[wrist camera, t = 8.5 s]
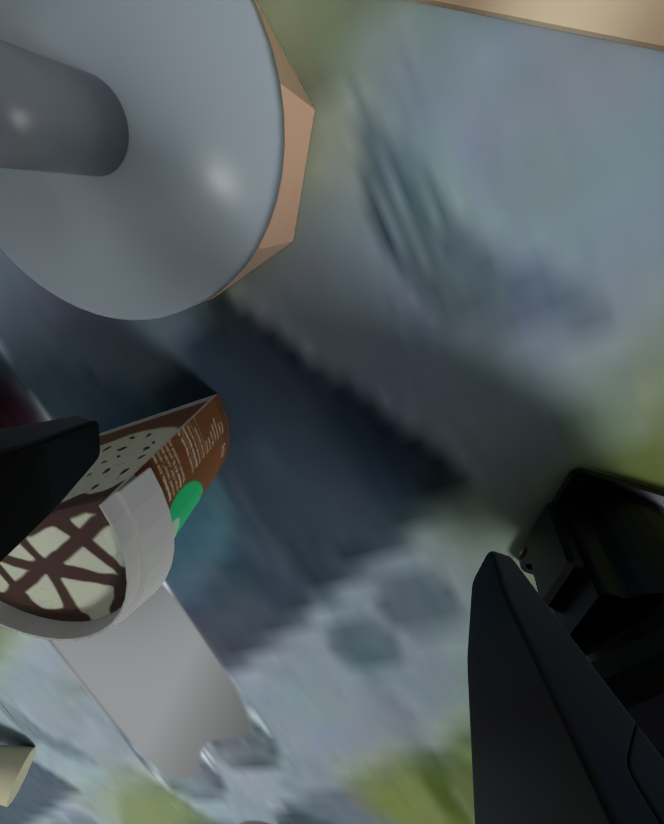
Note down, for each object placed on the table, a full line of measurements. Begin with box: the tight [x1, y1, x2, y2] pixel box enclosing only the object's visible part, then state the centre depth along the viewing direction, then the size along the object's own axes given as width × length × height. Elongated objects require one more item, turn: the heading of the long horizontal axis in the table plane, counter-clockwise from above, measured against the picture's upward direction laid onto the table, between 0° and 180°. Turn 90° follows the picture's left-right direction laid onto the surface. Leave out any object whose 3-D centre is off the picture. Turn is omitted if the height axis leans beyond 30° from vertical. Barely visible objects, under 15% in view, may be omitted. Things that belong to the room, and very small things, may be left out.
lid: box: [0, 0, 285, 320], centre depth 12 cm, size 12×12×5 cm
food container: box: [0, 394, 229, 641], centre depth 21 cm, size 12×6×10 cm, turn 113°
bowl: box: [167, 0, 315, 317], centre depth 16 cm, size 12×12×4 cm
